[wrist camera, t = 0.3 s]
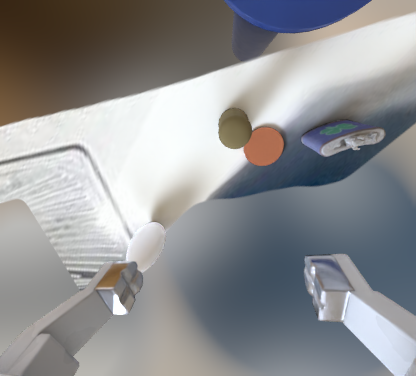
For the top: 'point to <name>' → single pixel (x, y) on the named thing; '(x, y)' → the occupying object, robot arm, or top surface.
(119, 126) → the top surface
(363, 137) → the flask
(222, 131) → the cork
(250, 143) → the coaster
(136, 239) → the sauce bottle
